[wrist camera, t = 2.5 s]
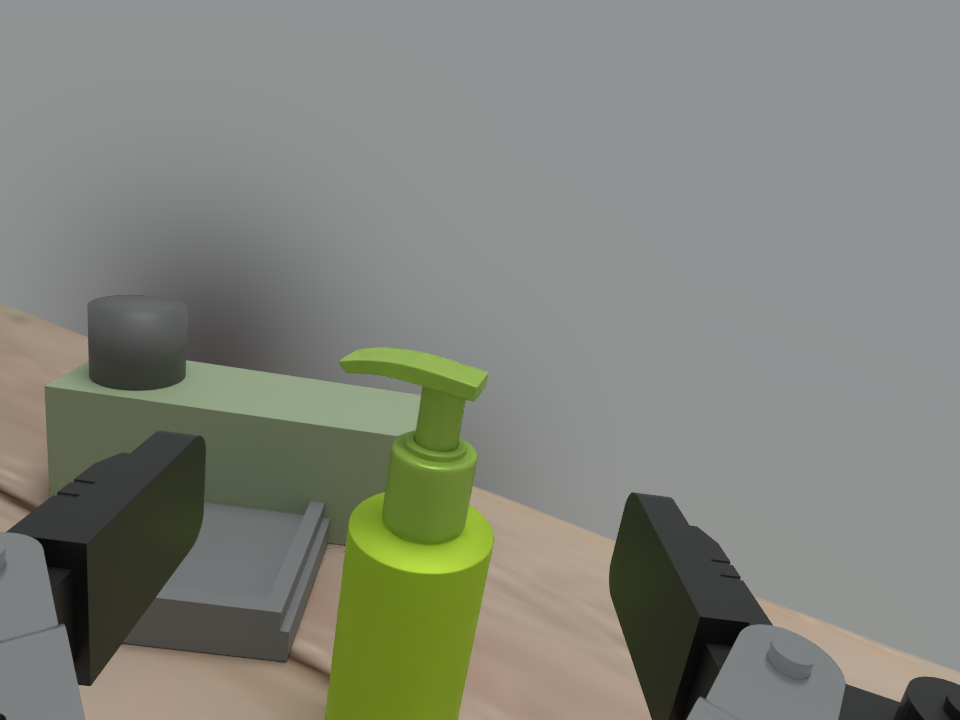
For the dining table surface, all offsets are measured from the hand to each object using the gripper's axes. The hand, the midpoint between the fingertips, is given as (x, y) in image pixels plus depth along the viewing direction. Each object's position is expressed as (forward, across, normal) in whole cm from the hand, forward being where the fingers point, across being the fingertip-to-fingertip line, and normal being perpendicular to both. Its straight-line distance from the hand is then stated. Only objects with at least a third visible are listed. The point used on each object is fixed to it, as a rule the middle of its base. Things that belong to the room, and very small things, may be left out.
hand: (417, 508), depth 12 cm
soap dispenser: (+12, 0, -21) cm, 24 cm away
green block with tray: (+27, -12, -20) cm, 36 cm away
